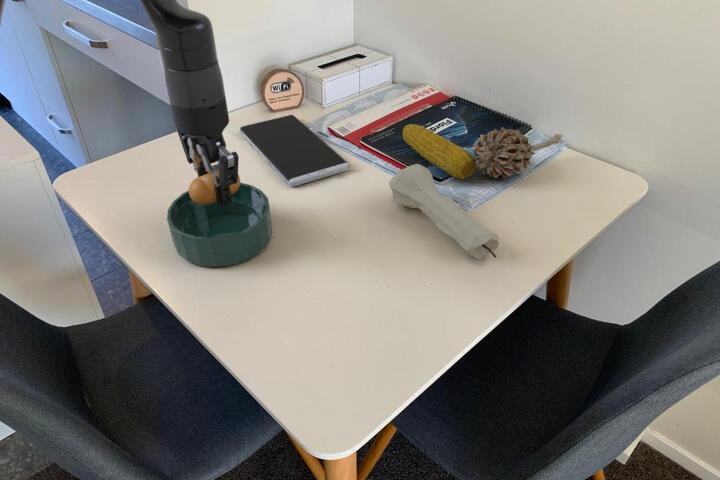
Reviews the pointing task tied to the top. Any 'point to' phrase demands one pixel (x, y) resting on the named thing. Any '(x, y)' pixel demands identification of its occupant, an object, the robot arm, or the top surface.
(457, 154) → the food
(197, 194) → the bread roll
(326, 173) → the smartphone
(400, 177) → the faceted club
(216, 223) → the green round bowl
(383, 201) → the top surface
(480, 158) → the pine cone
